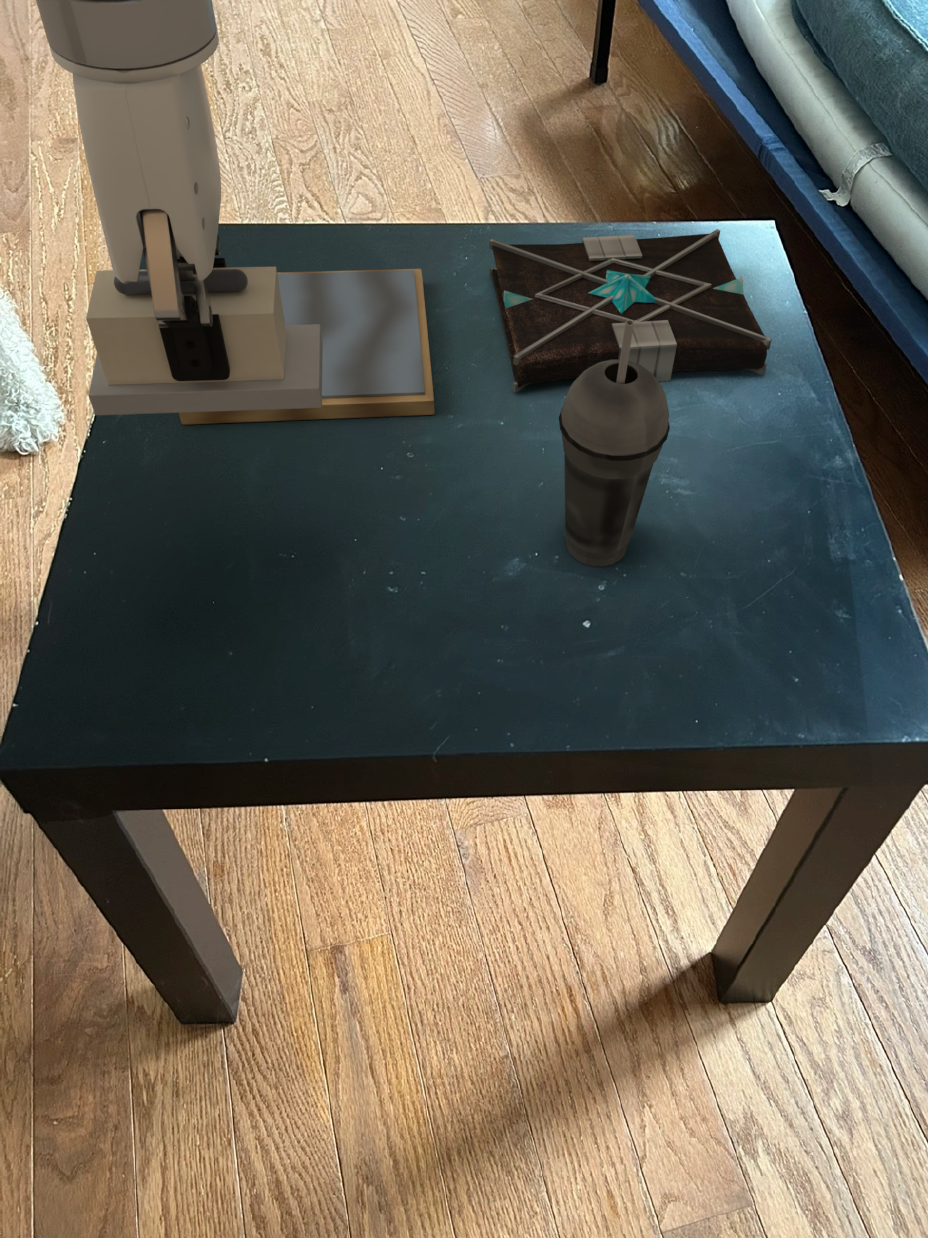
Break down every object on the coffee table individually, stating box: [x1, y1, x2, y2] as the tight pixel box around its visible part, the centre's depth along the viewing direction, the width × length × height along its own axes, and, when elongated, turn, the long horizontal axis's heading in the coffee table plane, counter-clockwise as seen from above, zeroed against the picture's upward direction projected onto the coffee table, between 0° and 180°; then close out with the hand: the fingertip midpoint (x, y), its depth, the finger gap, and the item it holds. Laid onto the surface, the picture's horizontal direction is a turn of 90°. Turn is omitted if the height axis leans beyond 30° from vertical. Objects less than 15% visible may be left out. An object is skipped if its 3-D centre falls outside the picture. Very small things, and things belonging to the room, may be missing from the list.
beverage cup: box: [558, 320, 671, 568], centre depth 73 cm, size 7×7×20 cm
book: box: [488, 228, 773, 394], centre depth 95 cm, size 22×17×5 cm
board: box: [178, 268, 436, 426], centre depth 93 cm, size 20×18×2 cm
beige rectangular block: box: [85, 266, 323, 416], centre depth 63 cm, size 13×6×7 cm, turn 95°
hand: (205, 346), depth 64 cm, fingers closed on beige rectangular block, 4 cm apart
